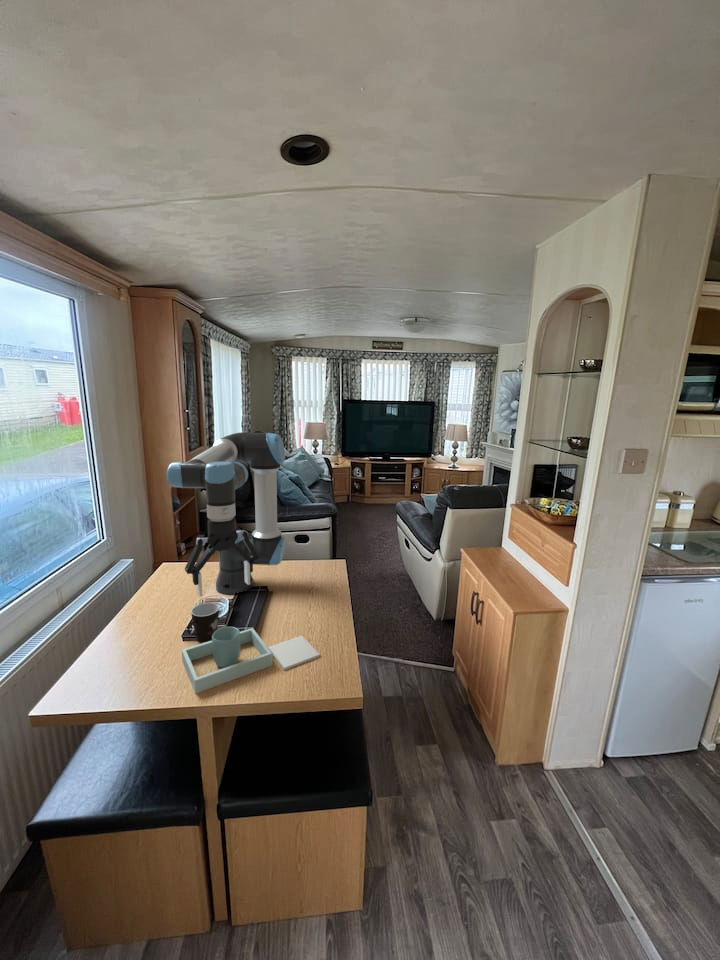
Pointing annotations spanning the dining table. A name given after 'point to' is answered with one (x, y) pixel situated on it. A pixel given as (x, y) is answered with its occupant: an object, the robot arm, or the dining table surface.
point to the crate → (230, 671)
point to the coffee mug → (204, 621)
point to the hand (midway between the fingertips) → (224, 588)
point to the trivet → (293, 652)
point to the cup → (226, 646)
